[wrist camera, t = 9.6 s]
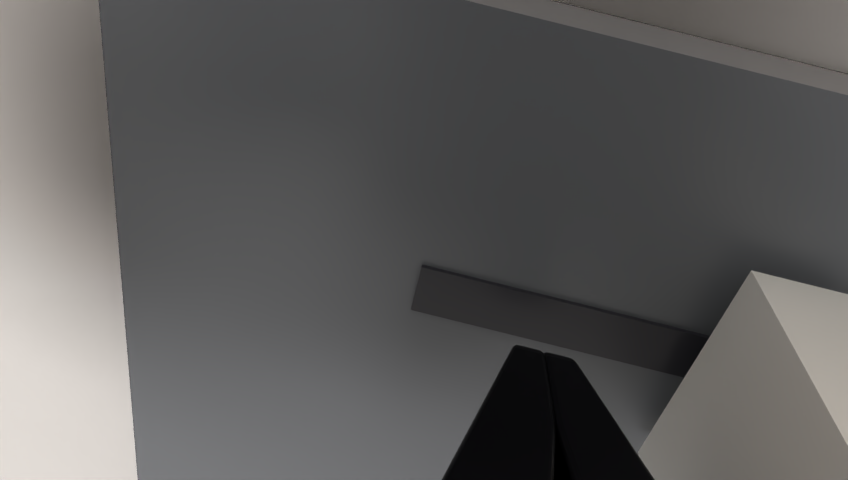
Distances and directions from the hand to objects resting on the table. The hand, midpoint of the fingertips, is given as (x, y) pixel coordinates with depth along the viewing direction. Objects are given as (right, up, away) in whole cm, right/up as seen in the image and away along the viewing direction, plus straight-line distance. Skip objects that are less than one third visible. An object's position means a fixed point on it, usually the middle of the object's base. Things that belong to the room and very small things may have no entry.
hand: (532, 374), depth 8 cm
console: (+4, -5, +5) cm, 8 cm away
